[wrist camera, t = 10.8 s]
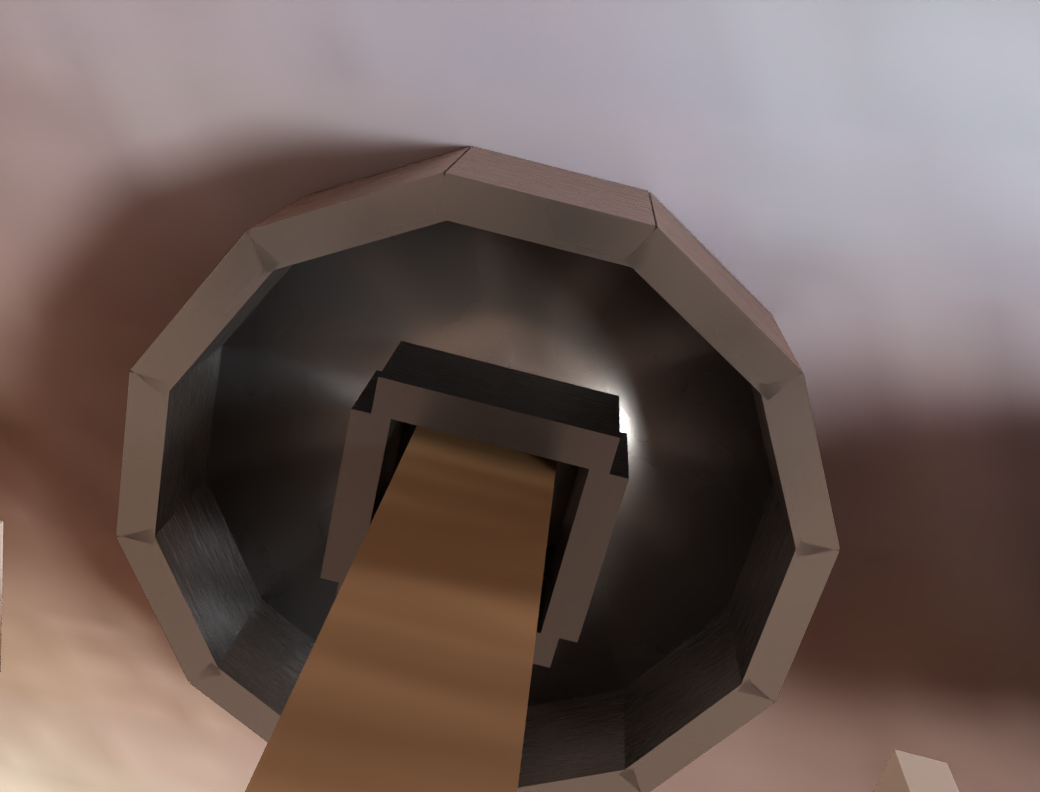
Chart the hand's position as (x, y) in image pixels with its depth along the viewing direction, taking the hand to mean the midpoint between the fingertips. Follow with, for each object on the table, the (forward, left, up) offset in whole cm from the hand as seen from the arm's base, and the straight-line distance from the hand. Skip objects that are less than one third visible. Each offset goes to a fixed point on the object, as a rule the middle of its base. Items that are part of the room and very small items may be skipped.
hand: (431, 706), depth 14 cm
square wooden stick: (0, 0, -8) cm, 8 cm away
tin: (0, 0, -9) cm, 9 cm away
